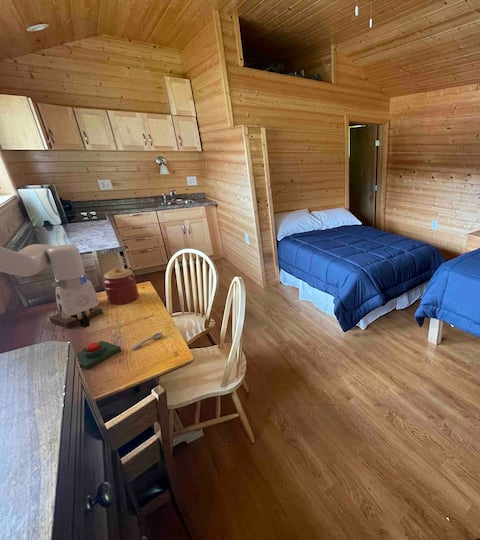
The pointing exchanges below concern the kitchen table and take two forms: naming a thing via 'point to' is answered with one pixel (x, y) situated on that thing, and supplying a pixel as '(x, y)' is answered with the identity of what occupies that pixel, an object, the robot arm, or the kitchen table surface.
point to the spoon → (147, 340)
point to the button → (92, 347)
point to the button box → (97, 355)
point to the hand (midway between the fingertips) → (84, 326)
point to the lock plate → (72, 321)
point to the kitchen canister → (120, 286)
